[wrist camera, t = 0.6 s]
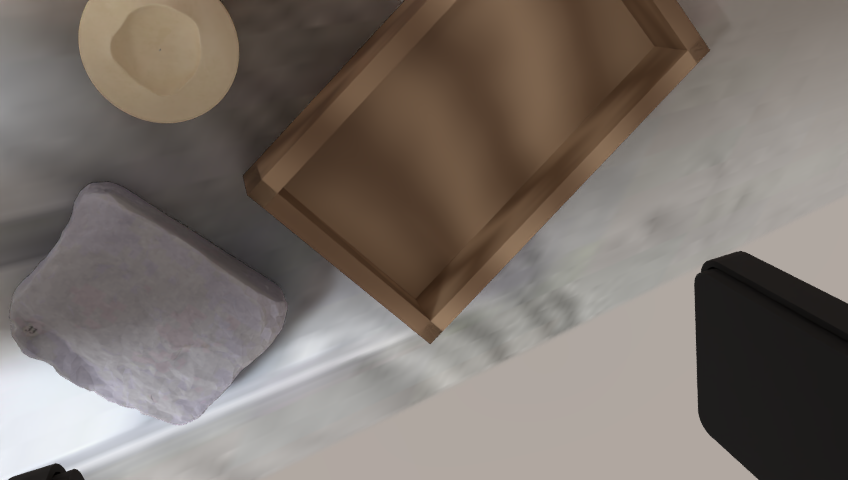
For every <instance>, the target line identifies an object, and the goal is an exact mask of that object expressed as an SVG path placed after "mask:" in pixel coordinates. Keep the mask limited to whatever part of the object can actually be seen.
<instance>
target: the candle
mask: <svg viewBox="0 0 848 480" xmlns="http://www.w3.org/2000/svg"><path fill="white" fill-rule="evenodd" d="M78 43H79V51H80V56H81V59H82V63H83V65H84V68H85V70H86V72H87V74H88V76H89V78H90V80H91V81H92V83H93V84H94V86H95V87H96V88H97V90H98V91H99V92H100V93H101V94H102V95H103V96H104V97H105V98H106V99H107V100H108V101H109V102H110V103H112V104H113V105H114V106H115V107H117V108H119V109H120V110H122V111H123V112H125V113H127V114H129V115H131V116H133V117H136V118H139V119H142V120H146V121H150V122H156V123H177V122H184V121H187V120H191V119H194V118H196V117H198V116H201V115H203V114H204V113H206V112H208V111H209V110H211V109H212V108H213V107H214V106H216V105H217V104H218V103H219V102H220V101H221V100H222V99H223V98H224V96H225V95H226V93H227V92H228V91H229V89H230V87H231V85H232V83H233V81H234V79H235V76H236V73H237V68H238V64H239V42H238V37H237V33H236V30H235V26H234V23H233V21H232V19H231V17H230V15H229V13H228V12H227V10H226V8H225V7H224V5H223V4H222V3H221V2H220V0H89V1H88V2H87V4H86V6H85V9H84V11H83V13H82V17H81V20H80V25H79V32H78Z"/></svg>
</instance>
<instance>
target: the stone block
mask: <svg viewBox="0 0 848 480" xmlns="http://www.w3.org/2000/svg"><path fill="white" fill-rule="evenodd" d="M287 308H288V304H287V302H286V300H285V298H284V294H283V292H282V289H281V288H280V287H279V286H278V285H277V284H275V283H274V282H272V281H270V280H269V279H267V278H266V277H265V276H263V275H262V274H260V273H258V272H257V271H255V270H253V269H252V268H250V267H248V266H247V265H245V264H244V263H242V262H241V261H239V260H238V259H236V258H234V257H233V256H231V255H230V254H228V253H226V252H225V251H223V250H222V249H220V248H219V247H217V246H215V245H214V244H212V243H211V242H209V241H208V240H206V239H204V238H203V237H201V236H200V235H198V234H196V233H195V232H193V231H192V230H190V229H189V228H187V227H186V226H184V225H182V224H181V223H179V222H177V221H176V220H174V219H173V218H171V217H169V216H167V215H165V214H164V213H163V212H161V211H160V210H158V209H157V208H155V207H154V206H152V205H151V204H149V203H148V202H146V201H144V200H143V199H141V198H140V197H138V196H137V195H135V194H134V193H132V192H130V191H129V190H127V189H126V188H124V187H122V186H120V185H118V184H115V183H111V182H98V183H90V184H88V185H87V186H86V187H85V188H84V189H82V190H81V191H80V192H79V194H78V196H77V198H76V200H75V201H74V205H73V212H72V215H71V217H70V220H69V222H68V224H67V226H66V227H65V229H64V230H63V231H62V234H61V237H60V239H59V241H58V242H57V243H56V245H55V246H54V247H53V249H52V250H51V251H50V252H49V254H48V255H47V257H46V258H45V259H43V260H42V261H41V262H40V263H39V264H38V266H37V267H36V268H35V269H34V270H33V272H32V273H31V274H30V275H29V276H28V277H26V278H25V279H24V280H23V281H22V282H21V283H20V284H19V285H18V287H17V288H16V290H15V292H14V294H13V296H12V303H11V306H10V312H9V318H10V320H11V334H12V337H13V338H14V340H15V341H16V342H17V344H18V346H19V347H20V349H21V351H22V352H23V353H24V354H26V355H27V356H29V357H31V358H35V359H38V360H42V361H45V362H47V363H48V364H50V365H51V366H53V367H54V368H55V370H56V372H57V373H58V374H59V375H61V376H62V377H64V378H65V379H67V380H69V381H71V382H72V383H74V384H75V385H77V386H79V387H82V388H85V389H87V390H89V391H94V392H96V393H97V394H98V395H100V396H102V397H103V398H105V399H107V400H108V401H110V402H114V403H117V404H119V405H121V406H124V407H128V408H136V409H138V410H139V411H140V412H141V413H142V414H144V415H148V416H151V417H154V418H157V419H159V420H162V421H165V422H168V423H171V424H173V425H184V424H187V423H188V422H192V421H193V420H195V419H197V418H199V417H200V416H201V415H202V414H203V413H204V412H205V410H206V409H207V408H208V406H209V405H211V404H212V403H213V402H214V401H215V400H216V399H217V398H218V397H220V396H221V394H222V393H223V392H224V391H225V390H226V389H227V388H228V387H229V386H230V384H231V383H232V382H233V381H234V379H235V378H236V376H237V375H238V374H239V373H240V371H241V370H243V369H244V368H245V367H246V366H248V365H249V364H250V363H251V362H252V361H254V360H255V359H256V358H257V357H258V356H260V355H261V354H262V353H263V352H264V351H265V350H266V349H267V348H268V347H269V346H270V345H271V344H272V342H273V341H274V340H275V338H276V337H277V335H278V334H279V333H280V331H281V330H282V328H283V324H284V321H285V316H286V313H287Z"/></svg>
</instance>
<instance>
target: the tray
mask: <svg viewBox="0 0 848 480" xmlns="http://www.w3.org/2000/svg"><path fill="white" fill-rule="evenodd" d="M709 51H710V49H709V48H708V46H707V45H706V43H705V42H704V41H703V39H702V38H701V36H700V35H699V33H698V32H697V30H696V29H695V27H694V26H693V24H692V23H691V21H690V20H689V18H688V17H687V15H686V14H685V12H684V11H683V9H682V8H681V7H680V5H679V4H678V2H677V1H676V0H405V1H404V2H403V3H402V4H401V5H400V6H399V7H398V8H397V9H396V10H395V11H394V13H393V14H392V15H391V16H390V17H389V18H388V19H387V20H386V21H385V22H384V23H383V24H382V26H381V27H380V28H379V29H378V30H377V31H376V32H375V33H374V34H373V35H372V36H371V37H370V39H369V40H368V41H367V42H366V43H365V44H364V45H363V46H362V47H361V48H360V49H359V50H358V52H357V53H356V54H355V55H354V56H353V57H352V58H351V59H350V60H349V61H348V62H347V63H346V65H345V66H344V67H343V68H342V69H341V70H340V71H339V72H338V73H337V74H336V75H335V76H334V78H333V79H332V80H331V81H330V82H329V83H328V84H327V85H326V86H325V87H324V88H323V89H322V91H321V92H320V93H319V94H318V95H317V96H316V97H315V98H314V99H313V100H312V101H311V102H310V104H309V105H308V106H307V107H306V108H305V109H304V110H303V111H302V112H301V113H300V114H299V115H298V117H297V118H296V119H295V120H294V121H293V122H292V123H291V124H290V125H289V126H288V127H287V128H286V129H285V131H284V132H283V133H282V134H281V135H280V136H279V137H278V138H277V139H276V140H275V141H274V142H273V144H272V145H271V146H270V147H269V148H268V149H267V150H266V151H265V152H264V153H263V154H262V155H261V157H260V158H259V159H258V160H257V161H256V162H255V163H254V164H253V165H252V166H251V167H250V168H249V170H248V171H247V172H246V173H245V174H244V175H243V179H244V183H245V188H246V192H247V195H248V196H249V197H250V198H251V199H253V200H254V201H255V202H256V203H257V204H259V205H260V206H261V207H262V208H264V209H265V210H266V211H267V212H269V213H270V214H271V215H272V216H273V217H275V218H276V219H277V220H278V221H280V222H281V223H282V224H283V225H285V226H286V227H287V228H288V229H289V230H291V231H292V232H293V233H294V234H296V235H297V236H298V237H299V238H300V239H302V240H303V241H304V242H305V243H307V244H308V245H309V246H310V247H312V248H313V249H314V250H315V251H316V252H318V253H319V254H320V255H321V256H323V257H324V258H325V259H326V260H328V261H329V262H330V263H331V264H332V265H334V266H335V267H336V268H337V269H339V270H340V271H341V272H342V273H343V274H345V275H346V276H347V277H348V278H350V279H351V280H352V281H353V282H355V283H356V284H357V285H358V286H359V287H361V288H362V289H363V290H364V291H366V292H367V293H368V294H369V295H370V296H372V297H373V298H374V299H375V300H377V301H378V302H379V303H380V304H382V305H383V306H384V307H385V308H386V309H388V310H389V311H390V312H391V313H393V314H394V315H395V316H396V317H398V318H399V319H400V320H401V321H402V322H404V323H405V324H406V325H407V326H409V327H410V328H411V329H412V330H413V331H415V332H416V333H417V334H418V335H420V336H421V337H422V338H423V339H425V340H426V341H427V342H428V343H429V344H431V343H432V342H433V341H434V340H435V339H436V338H437V337H438V336H439V335H440V334H441V332H442V331H443V330H444V329H445V328H446V327H447V326H448V325H449V324H450V323H451V322H452V321H453V320H454V319H455V318H456V317H457V316H458V315H459V314H460V313H461V311H462V310H463V309H464V308H465V307H466V306H467V305H468V304H469V303H470V302H471V301H472V300H473V299H474V298H475V297H476V296H477V295H478V294H479V293H480V292H481V290H482V289H483V288H484V287H485V286H486V285H487V284H488V283H489V282H490V281H491V280H492V279H493V278H494V277H495V276H496V275H497V274H498V273H499V272H500V270H501V269H502V268H503V267H504V266H505V265H506V264H507V263H508V262H509V261H510V260H511V259H512V258H513V257H514V256H515V255H516V254H517V253H518V252H519V251H520V249H521V248H522V247H523V246H524V245H525V244H526V243H527V242H528V241H529V240H530V239H531V238H532V237H533V236H534V235H535V234H536V233H537V232H538V231H539V230H540V228H541V227H542V226H543V225H544V224H545V223H546V222H547V221H548V220H549V219H550V218H551V217H552V216H553V215H554V214H555V213H556V212H557V211H558V210H559V208H560V207H561V206H562V205H563V204H564V203H565V202H566V201H567V200H568V199H569V198H570V197H571V196H572V195H573V194H574V193H575V192H576V191H577V190H578V189H579V187H580V186H581V185H582V184H583V183H584V182H585V181H586V180H587V179H588V178H589V177H590V176H591V175H592V174H593V173H594V172H595V171H596V170H597V169H598V168H599V166H600V165H601V164H602V163H603V162H604V161H605V160H606V159H607V158H608V157H609V156H610V155H611V154H612V153H613V152H614V151H615V150H616V149H617V148H618V146H619V145H620V144H621V143H622V142H623V141H624V140H625V139H626V138H627V137H628V136H629V135H630V134H631V133H632V132H633V131H634V130H635V129H636V128H637V127H638V125H639V124H640V123H641V122H642V121H643V120H644V119H645V118H646V117H647V116H648V115H649V114H650V113H651V112H652V111H653V110H654V109H655V108H656V107H657V106H658V104H659V103H660V102H661V101H662V100H663V99H664V98H665V97H666V96H667V95H668V94H669V93H670V92H671V91H672V90H673V89H674V88H675V87H676V86H677V84H678V83H679V82H680V81H681V80H682V79H683V78H684V77H685V76H686V75H687V74H688V73H689V72H690V71H691V70H692V69H693V68H694V67H695V66H696V65H697V63H698V62H699V61H700V60H701V59H702V58H703V57H704V56H705V55H706V54H707V53H708V52H709Z"/></svg>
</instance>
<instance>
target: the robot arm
mask: <svg viewBox="0 0 848 480" xmlns="http://www.w3.org/2000/svg"><path fill="white" fill-rule="evenodd" d="M694 287H695V317H696V318H695V321H696V351H697V353H696V355H697V388H698V413H699V417H700V421H701V423H702V425H703V427H704V428H705V430H706V431H707V433H708V434H709V435H710V436H711V437H712V438H713V439H715V440H716V441H717V442H718V443H719V444H720V445H721V446H722V447H723V448H724V449H726V450H727V451H728V452H729V453H730V454H731V455H732V456H733V457H734V458H736V459H737V460H738V461H739V462H740V463H741V464H742V465H743V466H744V467H745V468H746V469H748V470H749V471H750V472H751V473H752V474H753V475H754V476H755V477H756V478H758V479H759V480H848V304H847V303H845V302H843V301H842V300H840V299H838V298H836V297H833V296H831V295H830V294H828V293H826V292H823V291H821V290H820V289H818V288H816V287H814V286H812V285H810V284H808V283H806V282H804V281H802V280H800V279H798V278H796V277H794V276H792V275H790V274H788V273H786V272H784V271H782V270H780V269H778V268H776V267H774V266H772V265H770V264H768V263H766V262H764V261H762V260H760V259H758V258H756V257H754V256H752V255H750V254H748V253H746V252H742V251H739V252H734V253H731V254H728V255H725V256H721V257H718V258H715V259H712V260H709V261H706V262H705V263H704V264H703V266H702V269H701V273H699V274H697V276H696V278H695V283H694ZM9 480H84V478H83V476H82V474H81V473H80V472H79V471H78V470H76V469H73V470H70V471H67V472H66V471H65V469H64V468H63V467H62V466H61V465H60V464H56V463H55V464H52V465H49V466H46V467H43V468H39V469H36V470H33V471H30V472H26V473H23V474H20V475H17V476H14V477H12V478H10V479H9Z"/></svg>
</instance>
